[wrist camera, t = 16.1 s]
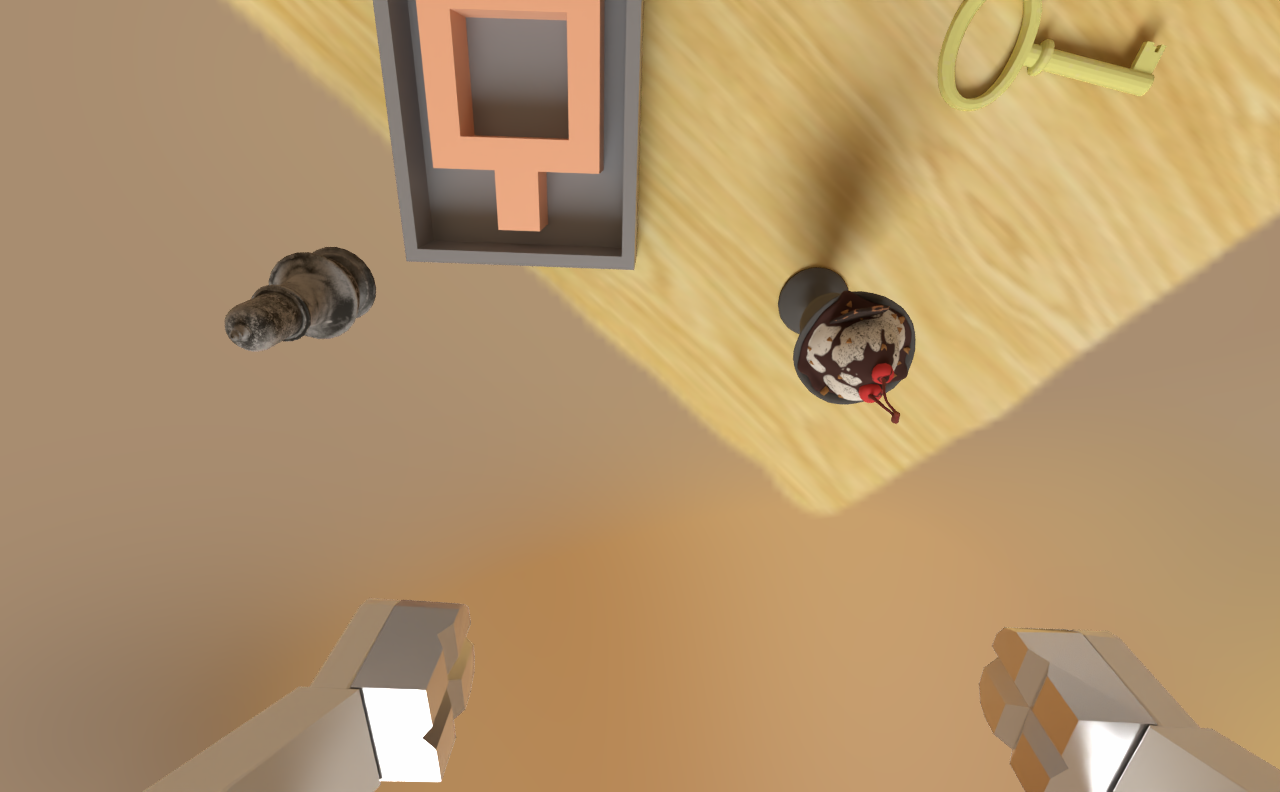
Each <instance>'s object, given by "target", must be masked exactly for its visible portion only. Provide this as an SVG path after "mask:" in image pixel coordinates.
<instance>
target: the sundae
mask: <svg viewBox="0 0 1280 792" xmlns="http://www.w3.org/2000/svg"><path fill="white" fill-rule="evenodd" d="M778 307H779V313H780V317H781V319H782V321H783V322H784V324H785V325H786V326H787V327H788V328H789V329H791V330H792V331H794V332H796V333H798V334H800V335H799V337H798V340H797V342H796V345H795V348H794V355H793V361H794V366H795V369H796V372H797V375H798V377H799V378H800V380H801V381H802V383H803V384H804V385H805V386H806V388H807V389H808V390H809V391H810V392H811V393H813V394H814V395H816V396H817V397H818V398H820V399H822V400H824V401H827V402H829V403H835V404H854V403H859V402H864V401H865V402H867V403H873V402H876V403H878V404H879V405H880V406H881V407H882V408H884V409H885V410H886V411H888V412H889V413H890V414H891V415H892V418H891V421H892V423H895V424H897V423H898V422H899V417H900V413H899V412H897V411H896V410H895V409H894V408H893V407H892V406H891V405H890V404H889V402H888V400H887V397H886V393H887V392H888V391H890V390H891V389H893V388H894V387H895V386H896V385H897V384H898V383H899V382H900V381H901V380H903V379H904V378H906V377H907V375H908V370H909V368H910V365H911V363H912V360H913V356H914V352H915V331H914V326H913V323H912V321H911V319H910V317H909V315H908V314H907V313H906V311H905V310H904V309H903V308H902V307H901V306H899V305H898V304H897V303H895V302H894V301H892V300H890V299H888V298H886V297H884V296H881V295H877V294H874V293H868V292H862V291H859V292H851V291H848V287H847V286H846V284H845V282H844V281H843V279H842V278H841V276H839V275H838V274H836V273H835V272H833V271H831V270H829V269H825V268H810V269H806V270H803V271H801V272H799V273H797V274H796V275H794V276H793V277H792V278H791V279H789V281H788V282H787V283H786V284H785V286H784V287H783V289H782V291H781V294H780V297H779V302H778ZM882 395H883V396H884V399H885V401H886V403H887V404H888V406H889V407H890V408H891V410H892V411H893V412H894V413H893V412H892V411H890V410H889V409H888V408H887V407H885V406H884V405H883V404H882V403H881V402H880V401H879V399H880V398H881V397H882Z"/></svg>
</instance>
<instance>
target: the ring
mask: <svg viewBox="0 0 1280 792" xmlns="http://www.w3.org/2000/svg"><path fill="white" fill-rule="evenodd" d="M416 6H417V16H418V26H419V35H420V45H421V54H422V64H423V74H424V83H425V93H426V103H427V112H428V122H429V131H430V141H431V151H432V160H433V168H447V169H475V170H495V184H496V200H497V215H498V230H515V231H541V230H542V229H543V228H544V227H545V226H546V225H548V206H547V173H546V172H559V173H587V174H600V173H601V172H602V171H603V170H604V18H605V0H416ZM466 17H474V18H506V19H537V20H567V59H568V121H569V139H564V138H535V137H506V136H478V135H475V134H474V121H473V108H472V95H471V81H470V68H469V55H468V42H467V29H466Z"/></svg>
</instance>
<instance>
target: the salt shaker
mask: <svg viewBox="0 0 1280 792" xmlns="http://www.w3.org/2000/svg"><path fill="white" fill-rule="evenodd" d="M375 294H376V286H375V281H374V278H373V276H372V273H371V271H370V269H369V268H368V267H367V266H366V264H365V263H364V262H363V261H362V260H361V259H360V258H358V257H357V256H356V255H355V254H353V253H351V252H349V251H347V250H345V249H341V248H337V247H325V248H322V249H319V250H316V251H315V252H313V253H309V252H307V253H295V254H291V255H289V256H286V257H284V258H283V259H282V260H280V261H279V262H278V263H277V264H276V265H275V267H274V268H273V270H272V272H271V276H270V279H269V285H267V286H264V287H261V288H260V289H258V290H257V291H256V292H255V293H254V295H253V296H252V298H251V300H248V301H246V302H244V303H241V304H239V305H237V306H235V307H234V308H232V309H231V310H230V311H229V312H228V314H227V315H226V318H225V330H226V333H227V335H228V337H229V338H230V339H231V340H232V341H233V342H234V343H235V344H236V345H237V346H239V347H241V348H244V349H246V350H249V351H263V350H266V349H269V348H270V347H272V346H274V345H276V344H277V343H279V342H281V341H294V340H297V339H299V338H301V337H302V336H304V335H306V336H309V337H313V338H317V339H330V338H333V337H337V336H339V335H341V334H342V333H344V332H346V331H347V330H348V329H349V328H350V327H351V326H352V324H353V323H354V322H355V319H356V318H358V317H361V316H362V315H364V314H365V313H367V312H368V310H369V309H370V308H371V307H372V305H373V303H374V300H375V297H376V295H375Z"/></svg>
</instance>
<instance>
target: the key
mask: <svg viewBox="0 0 1280 792" xmlns="http://www.w3.org/2000/svg"><path fill="white" fill-rule="evenodd" d="M985 1H986V0H964V1H963V3H962V4H961V6H960V7H959V9H958V10H957V12H956V14H955V16H954V18H953V20H952V22H951V24H950V26H949V29H948V31H947V33H946V36H945V39H944V42H943V45H942V49H941V52H940V56H939V62H938V85H939V89H940V93H941V95H942V97H943V99H944V100H945V102H946V103H947V104H948V105H949V106H950V107H952V108H955V109H958V110H962V111H974V110H978V109H980V108H983V107H985V106H987V105H989V104H991V103H992V102H994V101H995V100H996V99H997V98H998V97H999V96H1000V95H1001V94H1002V93H1004V92H1005V91H1006V90H1007V88H1008V87H1009V86H1010V85H1011V83H1012V82H1013V81H1014V80H1015V78H1016V76H1017V75H1018V73H1019V71H1020V70H1021V68H1022V66H1026V67H1028V68H1027V71H1028V74H1029V75H1031V76H1036V75H1038V74H1039V73H1041V72H1042V71H1045V72H1049V73H1053V74H1057V75H1061V76H1064V77H1068V78H1072V79H1076V80H1079V81H1083V82H1087V83H1091V84H1095V85H1098V86H1102V87H1106V88H1110V89H1114V90H1117V91H1121V92H1125V93H1129V94H1133V95H1136V96H1142V95H1144V94H1145V93H1146V92H1147V91H1148V90H1149V89H1150V87H1151V86H1152V84H1153V81H1154V75H1152V73H1153V71H1154V69H1155V67H1156V65H1157V63H1158V61H1159V59H1160V58H1161V56H1162V54H1163V52H1164V50H1165V48H1166V46H1165V45H1159V46H1157V47H1155V46H1154V44H1155V43H1153V42H1149V41H1146V42H1143V44H1142V46H1141V48H1140V50H1139V52H1138V54H1137V56H1136V57H1135V59H1134V61H1133V63H1132V65H1131V67H1130V69H1129V68H1126V67H1122V66H1118V65H1114V64H1110V63H1107V62H1103V61H1099V60H1095V59H1091V58H1088V57H1084V56H1080V55H1076V54H1072V53H1069V52H1065V51H1061V50H1057V49H1054V47H1055V44H1054V41H1053V40H1051V39H1046V40H1044V41H1043V42H1041V43H1040V44H1039V45H1038V44H1034V40H1035V37H1036V34H1037V31H1038V28H1039V25H1040V19H1041V13H1042V0H1023V20H1022V26H1021V30H1020V33H1019V36H1018V39H1017V42H1016V45H1015V47H1014V50H1013V52H1012V54H1011V56H1010V58H1009V60H1008V62H1007V64H1006V66H1005V68H1004V69H1003V71H1002V73H1001V75H1000V76H999V77H998V79H997V80H996V81H995V83H994V84H993V85H992V86H991V87H990V88H989V89H988V90H987V91H986V92H985V93H984V94H982V95H981V96H979V97H976V98H964V97H962V96H961V95H960V94H959V92H958V91H957V89H956V85H955V63H956V58H957V54H958V50H959V46H960V43H961V41H962V38H963V36H964V33H965V31H966V29H967V27H968V25H969V23H970V22H971V20H972V18H973V17H974V15H975V13H976V12H977V10H978V9H979V8H980V7H981V6H982V4H983V3H984V2H985Z"/></svg>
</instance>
